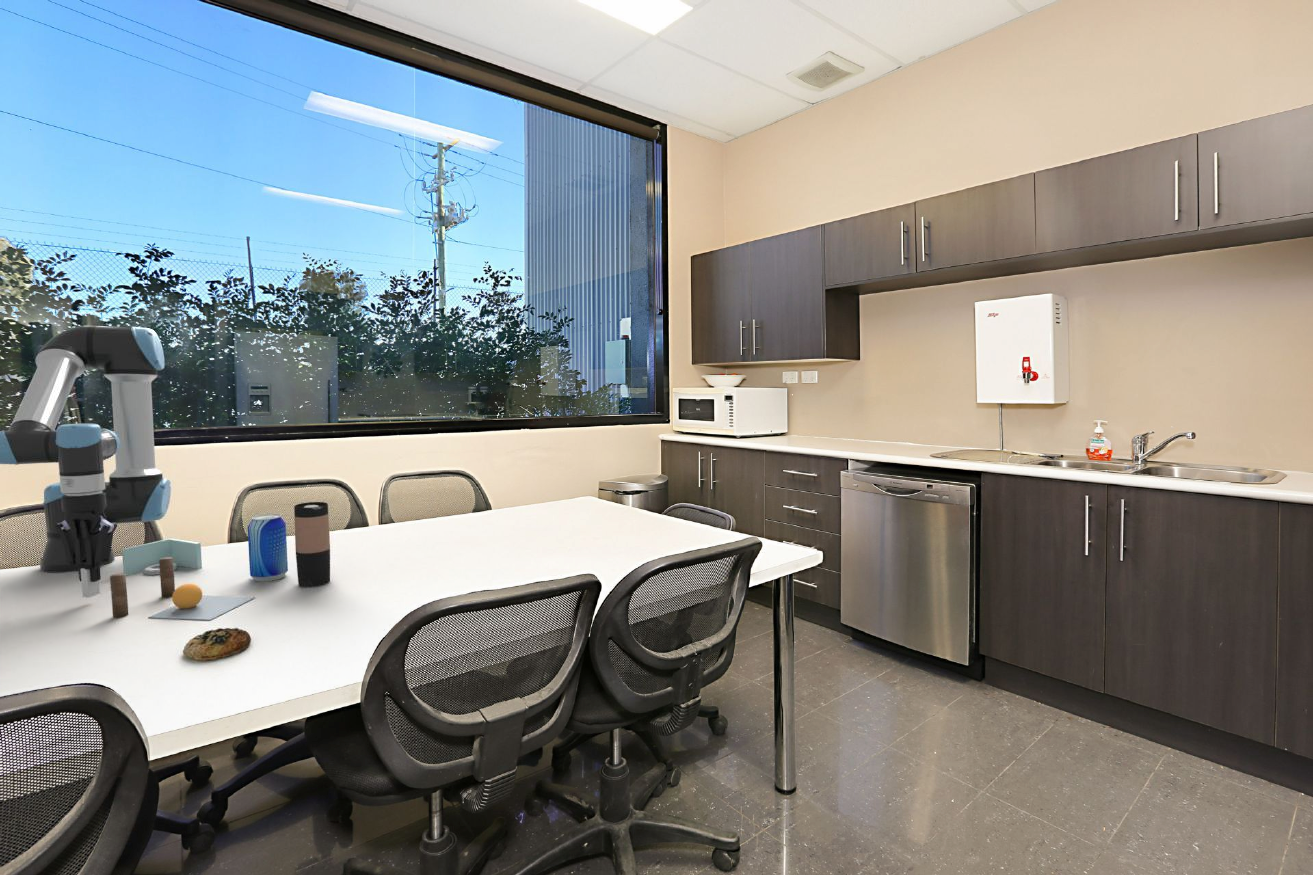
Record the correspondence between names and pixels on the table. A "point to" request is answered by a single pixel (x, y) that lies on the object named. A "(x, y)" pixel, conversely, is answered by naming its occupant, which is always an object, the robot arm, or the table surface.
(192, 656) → the bread roll
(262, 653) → the table surface
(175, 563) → the l-shaped corner panel
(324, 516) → the travel mug
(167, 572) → the post
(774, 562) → the table surface
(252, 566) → the beer can
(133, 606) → the table surface
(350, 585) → the table surface
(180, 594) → the ball
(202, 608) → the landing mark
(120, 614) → the post
